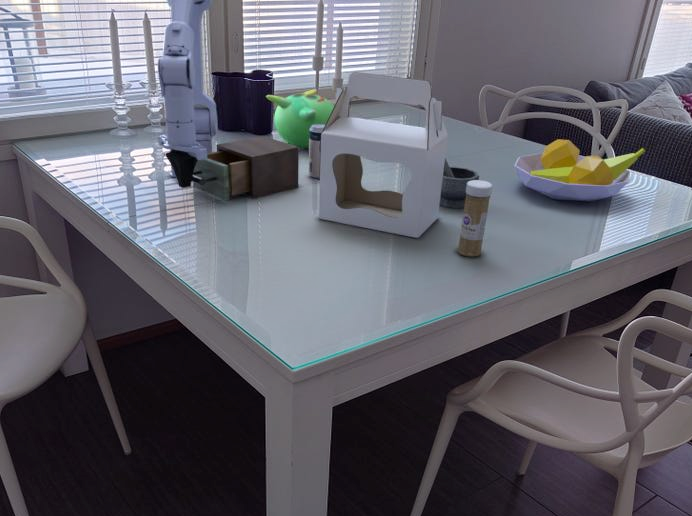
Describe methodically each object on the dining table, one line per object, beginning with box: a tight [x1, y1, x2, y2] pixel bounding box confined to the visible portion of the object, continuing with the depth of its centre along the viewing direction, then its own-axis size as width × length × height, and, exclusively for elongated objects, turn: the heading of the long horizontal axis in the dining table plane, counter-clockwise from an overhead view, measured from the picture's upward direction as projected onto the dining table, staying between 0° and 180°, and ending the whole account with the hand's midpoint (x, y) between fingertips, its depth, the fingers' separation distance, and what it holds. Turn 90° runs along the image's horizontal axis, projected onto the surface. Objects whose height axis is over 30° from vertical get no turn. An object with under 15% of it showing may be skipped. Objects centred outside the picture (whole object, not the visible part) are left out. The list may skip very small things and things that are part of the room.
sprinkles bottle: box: [456, 179, 493, 258], centre depth 128 cm, size 5×5×14 cm
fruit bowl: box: [514, 138, 646, 202], centre depth 163 cm, size 28×27×11 cm
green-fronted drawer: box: [191, 150, 251, 201], centre depth 152 cm, size 17×11×7 cm, turn 135°
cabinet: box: [215, 135, 300, 199], centre depth 159 cm, size 14×13×9 cm
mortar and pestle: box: [439, 157, 480, 209], centre depth 153 cm, size 11×9×12 cm
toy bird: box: [265, 89, 339, 149], centre depth 188 cm, size 18×17×15 cm
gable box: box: [318, 71, 449, 239], centre depth 138 cm, size 22×13×28 cm, turn 66°
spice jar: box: [308, 124, 325, 180], centre depth 166 cm, size 5×5×12 cm
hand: (185, 186), depth 147 cm, fingers closed
